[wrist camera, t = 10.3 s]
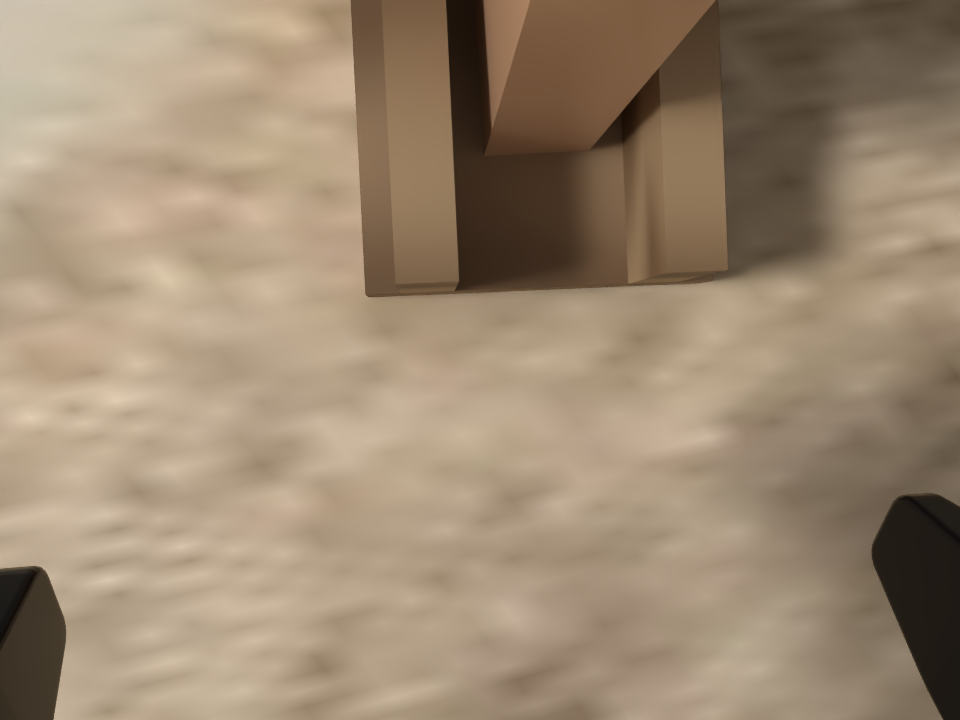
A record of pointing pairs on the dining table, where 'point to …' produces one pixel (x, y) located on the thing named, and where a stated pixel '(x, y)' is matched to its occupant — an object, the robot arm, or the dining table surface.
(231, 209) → the dining table surface
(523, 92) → the clay block
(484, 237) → the tan u-shaped channel
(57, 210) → the dining table surface
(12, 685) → the robot arm
